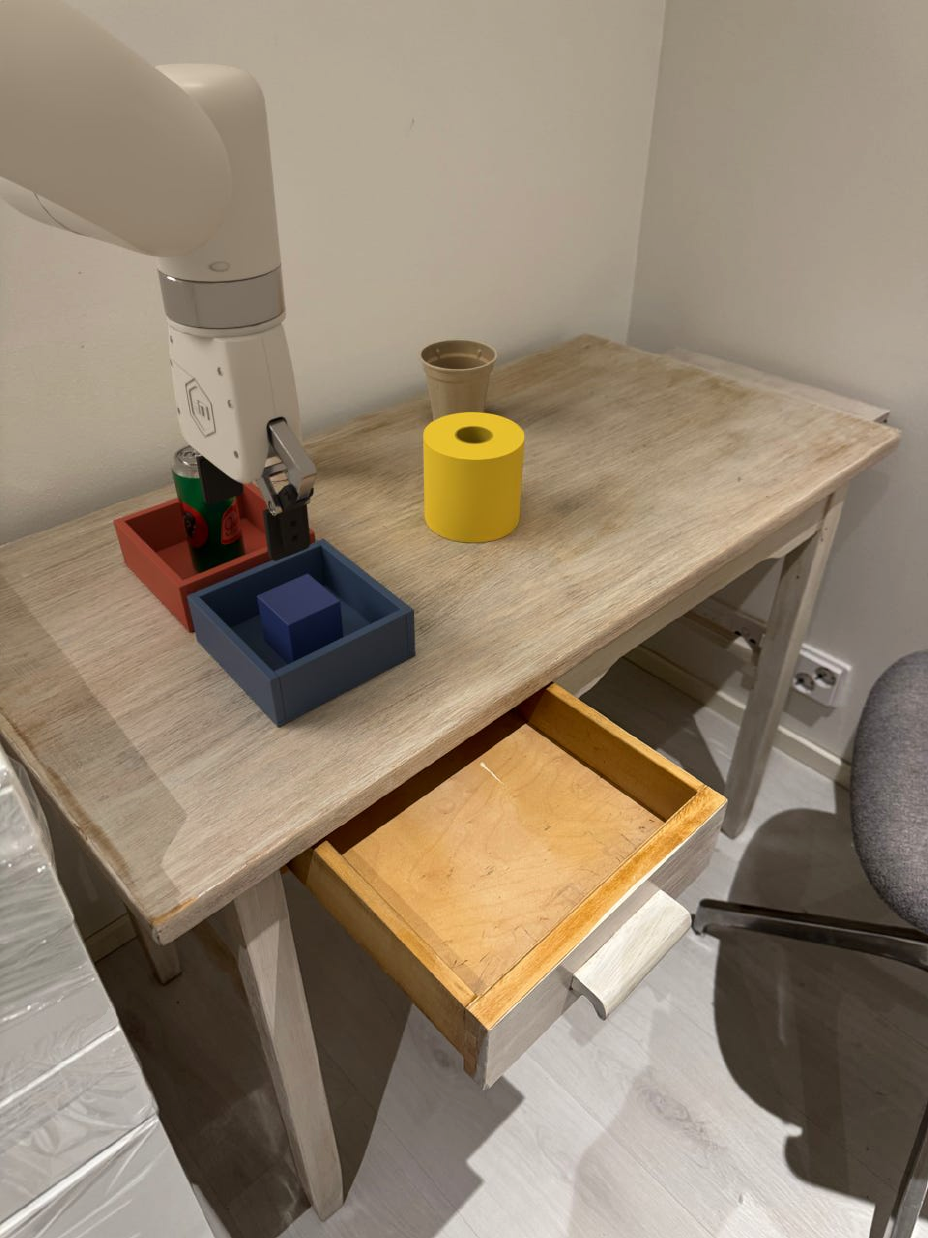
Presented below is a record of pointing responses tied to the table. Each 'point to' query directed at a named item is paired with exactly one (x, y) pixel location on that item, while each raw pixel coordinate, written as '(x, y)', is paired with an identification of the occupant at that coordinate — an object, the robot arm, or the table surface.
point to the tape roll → (472, 476)
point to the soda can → (205, 517)
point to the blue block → (300, 618)
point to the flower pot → (457, 375)
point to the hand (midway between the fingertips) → (255, 524)
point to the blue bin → (290, 690)
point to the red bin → (186, 551)
